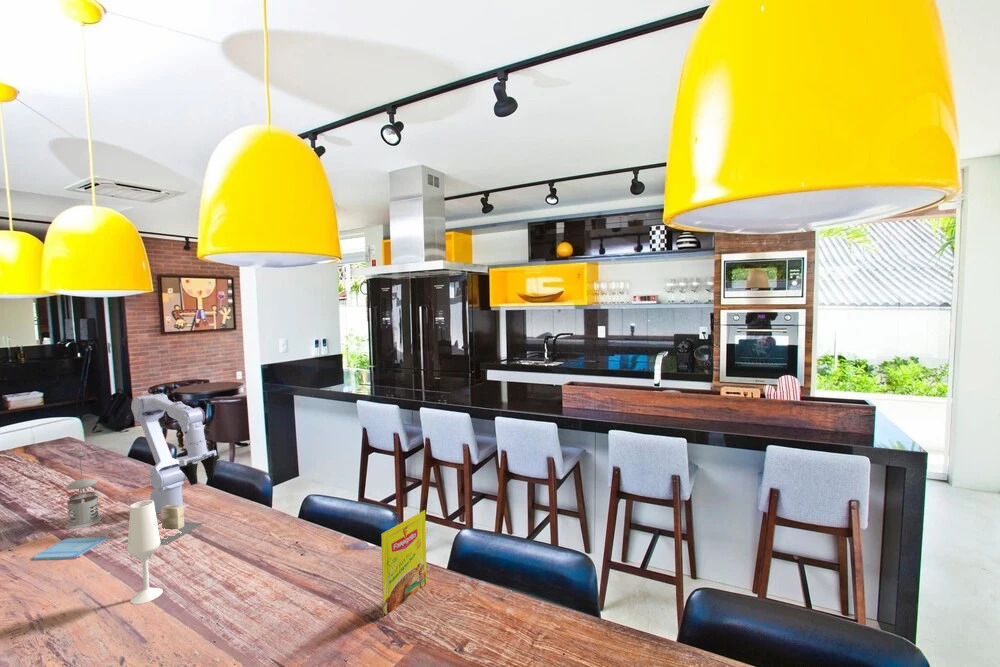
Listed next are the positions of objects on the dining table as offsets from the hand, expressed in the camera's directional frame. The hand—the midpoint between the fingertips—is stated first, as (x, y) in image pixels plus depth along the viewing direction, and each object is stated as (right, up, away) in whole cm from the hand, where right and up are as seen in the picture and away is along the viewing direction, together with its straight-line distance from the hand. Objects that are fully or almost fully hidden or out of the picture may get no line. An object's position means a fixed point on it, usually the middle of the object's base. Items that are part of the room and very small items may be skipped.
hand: (202, 481), depth 162 cm
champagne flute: (+14, -16, -44) cm, 48 cm away
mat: (-6, -14, -10) cm, 18 cm away
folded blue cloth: (-28, -16, -19) cm, 37 cm away
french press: (-42, -15, 0) cm, 44 cm away
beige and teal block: (-6, -14, -6) cm, 16 cm away
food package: (+81, -15, -47) cm, 95 cm away
